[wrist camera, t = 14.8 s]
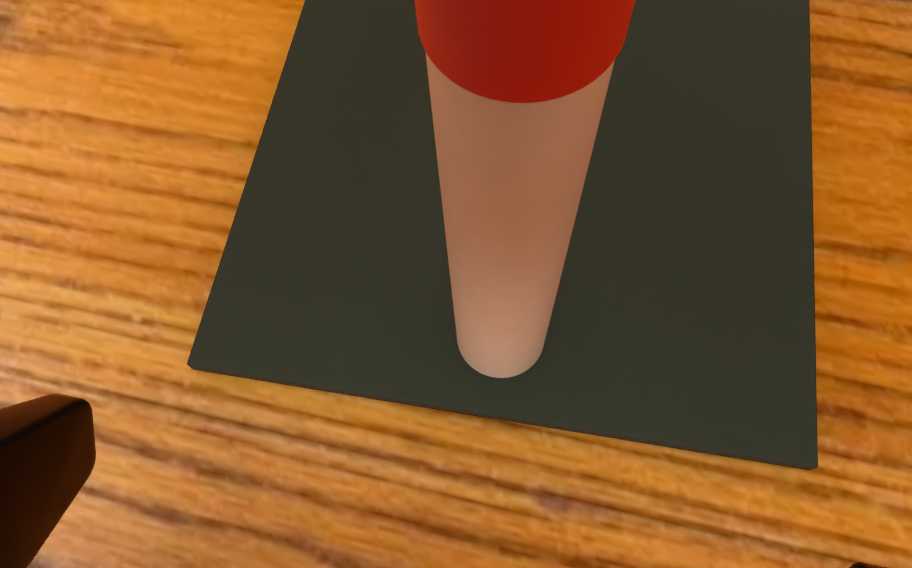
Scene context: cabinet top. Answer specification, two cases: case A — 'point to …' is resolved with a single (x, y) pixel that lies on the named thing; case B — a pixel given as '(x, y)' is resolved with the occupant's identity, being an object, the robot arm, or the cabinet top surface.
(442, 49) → the marker
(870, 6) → the cabinet top surface
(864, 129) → the cabinet top surface
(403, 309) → the mat
